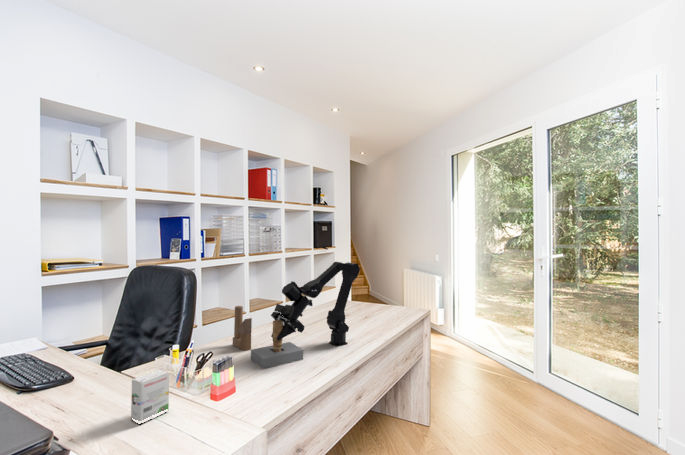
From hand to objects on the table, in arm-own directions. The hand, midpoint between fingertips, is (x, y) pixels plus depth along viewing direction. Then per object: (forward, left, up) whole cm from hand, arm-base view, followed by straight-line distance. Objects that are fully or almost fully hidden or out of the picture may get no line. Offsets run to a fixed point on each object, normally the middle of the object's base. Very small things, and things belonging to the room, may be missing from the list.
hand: (274, 338), depth 143 cm
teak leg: (-1, 0, -7) cm, 7 cm away
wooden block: (+6, -22, -9) cm, 25 cm away
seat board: (-1, 0, -9) cm, 9 cm away
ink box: (+48, +19, -9) cm, 52 cm away
